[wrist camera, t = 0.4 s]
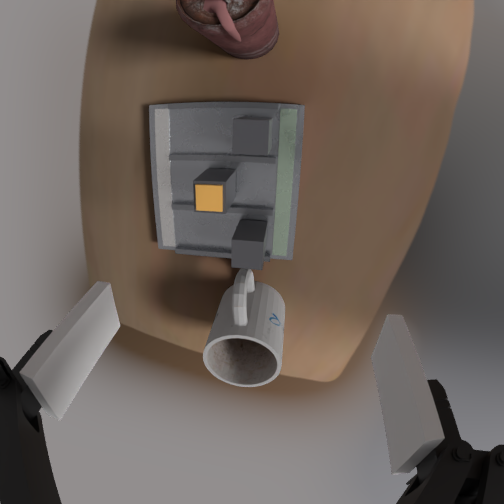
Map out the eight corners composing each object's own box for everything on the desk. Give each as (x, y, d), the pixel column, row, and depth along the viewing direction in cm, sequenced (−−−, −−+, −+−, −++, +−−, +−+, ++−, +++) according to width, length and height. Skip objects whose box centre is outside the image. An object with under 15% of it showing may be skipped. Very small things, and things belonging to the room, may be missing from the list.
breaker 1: (242, 116, 28) (232, 119, 24) (272, 117, 28) (269, 120, 23) (241, 145, 29) (232, 154, 25) (271, 147, 29) (267, 155, 25)
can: (234, 71, 27) (192, 50, 15) (210, 22, 25) (157, -21, 13) (289, 49, 26) (288, 11, 13) (264, 1, 23) (245, -60, 11)
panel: (154, 104, 30) (145, 105, 28) (304, 105, 28) (305, 105, 26) (163, 243, 38) (156, 251, 36) (292, 253, 36) (292, 263, 34)
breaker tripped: (207, 168, 31) (191, 181, 26) (235, 169, 31) (225, 182, 26) (207, 195, 32) (193, 213, 28) (235, 197, 32) (225, 215, 27)
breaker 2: (239, 219, 33) (231, 239, 29) (267, 221, 33) (263, 242, 28) (239, 244, 35) (231, 267, 30) (266, 246, 34) (262, 270, 30)
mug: (278, 336, 42) (274, 391, 34) (219, 325, 43) (202, 378, 34) (296, 261, 37) (296, 315, 28) (225, 249, 37) (204, 299, 28)
